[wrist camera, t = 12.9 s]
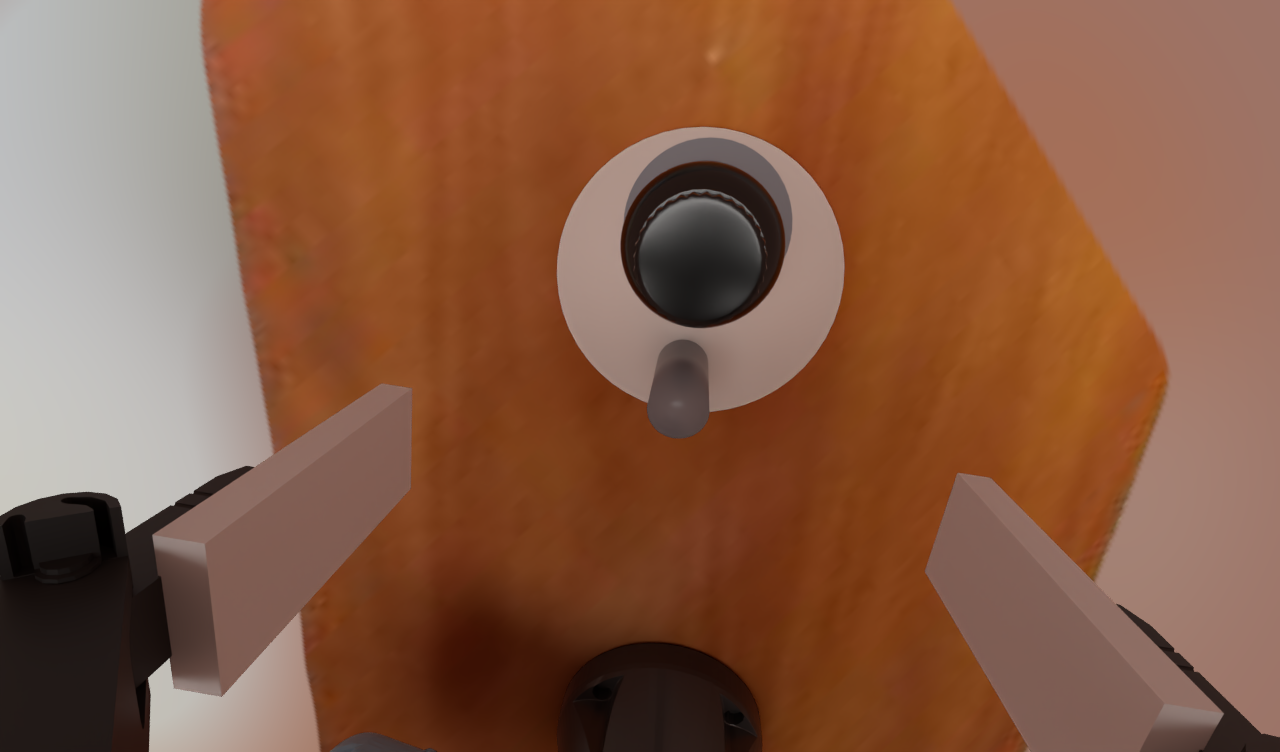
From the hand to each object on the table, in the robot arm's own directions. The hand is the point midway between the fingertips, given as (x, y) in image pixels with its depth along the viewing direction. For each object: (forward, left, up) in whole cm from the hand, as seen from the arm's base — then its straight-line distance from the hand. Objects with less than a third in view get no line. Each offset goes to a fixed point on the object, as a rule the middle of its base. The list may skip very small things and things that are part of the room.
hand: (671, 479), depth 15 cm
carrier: (+1, 0, -22) cm, 22 cm away
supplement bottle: (+4, 0, -21) cm, 21 cm away
